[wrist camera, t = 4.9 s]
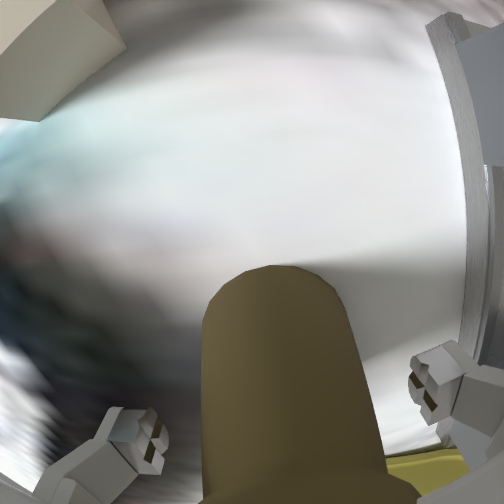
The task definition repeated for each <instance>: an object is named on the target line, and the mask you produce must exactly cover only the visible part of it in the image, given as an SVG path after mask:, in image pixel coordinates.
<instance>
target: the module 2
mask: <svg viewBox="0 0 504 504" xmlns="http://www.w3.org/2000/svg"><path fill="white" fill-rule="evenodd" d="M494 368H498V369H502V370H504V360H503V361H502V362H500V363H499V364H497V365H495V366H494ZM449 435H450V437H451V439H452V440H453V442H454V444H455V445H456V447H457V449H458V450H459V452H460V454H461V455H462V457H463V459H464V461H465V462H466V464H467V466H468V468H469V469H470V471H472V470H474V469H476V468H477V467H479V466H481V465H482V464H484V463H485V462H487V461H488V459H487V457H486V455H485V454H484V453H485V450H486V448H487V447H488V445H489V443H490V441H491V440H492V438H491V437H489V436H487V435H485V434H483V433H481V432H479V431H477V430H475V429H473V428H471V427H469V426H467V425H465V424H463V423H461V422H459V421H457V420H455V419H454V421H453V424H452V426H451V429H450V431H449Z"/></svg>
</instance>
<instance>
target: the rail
mask: <svg viewBox="0 0 504 504" xmlns="http://www.w3.org/2000/svg"><path fill="white" fill-rule="evenodd" d="M425 27H426V29H427V32H428V34H429V37H430V39H431V42H432V45H433V47H434V50H435V53H436V56H437V59H438V62H439V65H440V68H441V71H442V74H443V77H444V81H445V84H446V88H447V91H448V95H449V99H450V103H451V107H452V111H453V116H454V120H455V125H456V130H457V135H458V141H459V147H460V153H461V160H462V167H463V176H464V185H465V197H466V213H467V270H466V286H465V298H464V308H463V316H462V324H461V330H460V337H459V343H458V345H459V346H460V347H461V348H462V349H463V350H464V351H465V352H466V353H467V354H468V355H469V356H470V357H471V358H472V359H473V360H474V361H475V362H476V363H477V364H478V365H479V366H482V365H487V366H491V367H494V366H495V365H497V364H499V363H500V362H502V361H503V360H504V167H501V166H490V165H484V163H483V155H482V148H481V142H480V136H479V130H478V125H477V120H476V115H475V111H474V107H473V102H472V98H471V95H470V91H469V87H468V84H467V80H466V77H465V73H464V70H463V67H462V64H461V61H460V58H459V55H458V52H457V50H456V47H455V45H456V44H458V43H460V42H462V41H464V40H467V39H469V38H471V37H473V36H475V35H477V34H480V33H482V32H484V31H486V30H489V29H491V28H488V27H486V26H482V25H479V24H476V23H473V22H469V21H466V20H464V19H463V17H462V15H460V14H456V13H452V12H447V13H446V14H444V15H440V16H439V17H437V18H436V19H435V20H433V21H432V22H430V23H429V24H427V25H426V26H425ZM453 421H454V419H453V418H452V417H451V416H450V417H448V418H445V419H443V420H441V421H439V423H438V426H437V429H436V433H437V435H438V437H439V438H440V440H441V442H442V444H443V445H445V446H446V448H449V447H451V446H453V445H455V444H454V442H453V440H452V439H451V437H450V435H449V431H450V429H451V426H452V424H453Z"/></svg>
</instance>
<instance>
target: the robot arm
mask: <svg viewBox="0 0 504 504" xmlns="http://www.w3.org/2000/svg"><path fill="white" fill-rule="evenodd" d="M410 367H411V369H412V370H413V371H412V373H411V374H410V376H409V380H408V387H409V393H410V395H411V398H412V399H413V401H414V403H416V404H418V405H421V410H420V413H421V415H422V416H423V418H424V420H425V421H426V423H427V425H428V426H429V425H432V424H434V423H436V422H439V421H441V420H443V419H445V418H448V417H450V416H451V417H452V418H453V419H455V420H457V421H459V422H461V423H463V424H465V425H467V426H469V427H471V428H473V429H475V430H477V431H479V432H481V433H483V434H485V435H487V436H489V437H491V438H492V440H491V441H490V443H489V445H488V447H487V448H486V450H485V453H484V454H485V455H486V457H487V459H488V461H487V462H485V463H484V464H482V465H481V466H479V467H477V468H476V469H474V470H472V471H471V472H469V473H467V474H466V475H464V476H462V477H460V478H459V479H457V480H455V481H453V482H451V483H449V484H447V485H445V486H443V487H441V488H439V489H437V490H435V491H433V492H431V493H429V494H427V495H425V496H422V497H420V498H418V499H417V504H504V370H502V369H498V368H494V367H491V366H487V365H482V366H479V365H478V364H477V363H476V362H475V361H474V360H473V359H472V358H471V357H470V356H469V355H468V354H467V353H466V352H465V351H464V350H463V349H462V348H461V347H460V346H459V345H458V344H457V343H456V342H455V341H453V340H450V341H448V342H446V343H444V344H441V345H439V346H437V347H434V348H432V349H430V350H427V351H425V352H422V353H420V354H417V355H415V356H412V358H411V362H410ZM157 416H158V415H157V414H156V412H155V411H154V409H153V408H149V407H111V408H110V409H109V410H108V412H107V414H106V416H105V418H104V420H103V421H102V423H101V425H100V427H99V429H98V431H97V433H96V435H95V437H94V439H93V440H92V439H90V440H88V441H87V442H85V443H84V444H82V445H81V446H80V447H78V448H77V449H75V450H74V451H72V452H71V453H69V454H68V455H66V456H65V457H64V458H62V459H61V460H59V461H58V462H56V463H55V464H53V465H51V466H50V467H48V468H47V469H45V470H44V472H43V474H42V476H41V478H40V480H39V482H38V484H37V485H36V487H35V489H34V491H33V493H32V495H29V494H27V493H25V492H23V491H21V490H19V489H17V488H15V487H13V486H11V485H9V484H7V483H5V482H3V481H2V480H0V504H111V503H112V502H113V501H114V500H115V498H116V497H117V496H118V495H119V494H120V493H121V492H122V491H123V490H124V489H125V488H126V487H127V486H128V485H129V484H130V483H131V482H132V481H133V480H134V479H135V478H136V477H137V476H138V474H155V475H161V471H162V467H163V463H164V458H163V456H162V454H163V453H164V452H165V451H166V450H167V448H168V443H169V441H168V433H167V430H166V428H165V426H164V425H163V424H162V423H161V422H159V421H158V420H156V419H157ZM137 473H138V474H137Z"/></svg>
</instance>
